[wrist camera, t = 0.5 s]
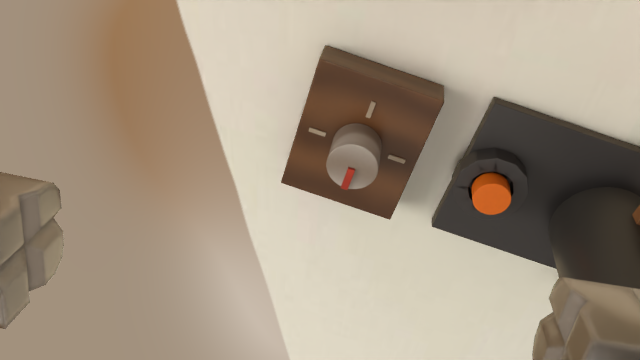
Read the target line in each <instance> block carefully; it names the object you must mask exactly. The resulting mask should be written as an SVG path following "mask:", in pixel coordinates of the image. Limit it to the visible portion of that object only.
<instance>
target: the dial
mask: <svg viewBox="0 0 640 360" xmlns="http://www.w3.org/2000/svg"><path fill="white" fill-rule="evenodd" d="M381 150H382V143H381V139H380V137H379V135H378V134H377V133H376V132H375V131H374V130H373V129H372V128H370V127H369V126H366V125H364V124H358V123H354V124H348V125H346V126H343V127H342V128H340V129H339V130H338V131H337V132H336V134H335V136H334V138H333V142H332V145H331V148H330V152H329V155H328V158H327V162H326V167H327V172H328V174H329V176H330V177H331V179H332V180H333V181H334V182H335V183H337V184H338V185H340V186H341V188H342V189H345V190H348V188H349V189H360V188H363V187H366V186H368V185H369V184H371V183H372V182H373V181H374V180H375V178H376V176H377V174H378V169H379V162H380V156H381Z"/></svg>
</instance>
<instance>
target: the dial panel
mask: <svg viewBox="0 0 640 360" xmlns="http://www.w3.org/2000/svg"><path fill="white" fill-rule="evenodd" d="M443 103H444V86H442V85H439V84H436V83H434V82H431V81H428V80H425V79H422V78H419V77H416V76H413V75H410V74H407V73H405V72H402V71H399V70H396V69H393V68H390V67H387V66H384V65H381V64H378V63H376V62H373V61H370V60H367V59H364V58H361V57H358V56H355V55H352V54H349V53H347V52H344V51H341V50H338V49H335V48H332V47H329V46H325V48H324V50H323V52H322V54H321V57H320V59H319V62H318V65H317V68H316V72H315V75H314V78H313V81H312V84H311V88H310V91H309V94H308V97H307V100H306V104H305V107H304V110H303V113H302V117H301V120H300V123H299V126H298V129H297V133H296V136H295V139H294V142H293V145H292V149H291V152H290V155H289V158H288V162H287V165H286V168H285V171H284V174H283V178H282V181H281V183H284V184H286V185H289V186H292V187H295V188H298V189H301V190H304V191H307V192H310V193H313V194H316V195H319V196H322V197H325V198H328V199H331V200H334V201H337V202H340V203H343V204H345V205H348V206H351V207H354V208H357V209H360V210H363V211H366V212H369V213H372V214H375V215H378V216H381V217H384V218H387V219H391V216H392V214H393V212H394V210H395V208H396V206H397V203H398V201H399V199H400V197H401V195H402V192H403V190H404V188H405V186H406V184H407V182H408V179H409V177H410V175H411V173H412V171H413V168H414V166H415V164H416V162H417V160H418V158H419V155H420V153H421V151H422V149H423V147H424V144H425V142H426V140H427V138H428V136H429V134H430V131H431V129H432V127H433V125H434V123H435V120H436V118H437V116H438V114H439V112H440V110H441V107H442V105H443ZM354 123H358V124H364V125H366V126H369V127H370V128H372V129H373V130H374V131H375V132H376V133H377V134H378V135H379V137H380V139H381V143H382V150H381V156H380V162H379V169H378V174H377V176H376V178H375V180H374V181H373V182H372V183H371V184H369V185H368V186H366V187H363V188H360V189H349V188H348V190H345V189H342V188H341V186H340V185H338V184H337V183H335V182H334V181H333V180H332V179H331V177H330V176H329V174H328V172H327V167H326V162H327V158H328V155H329V152H330V148H331V145H332V142H333V138H334V136H335V134H336V132H337V131H338V130H339V129H340V128H342V127H343V126H346V125H348V124H354Z"/></svg>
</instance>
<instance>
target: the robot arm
mask: <svg viewBox="0 0 640 360" xmlns="http://www.w3.org/2000/svg"><path fill="white" fill-rule="evenodd" d="M60 209H61V199H60V190H59V189H58V188H57V187H56V185H55V184H54V183H51V182H46V181H42V180H36V179H31V178H27V177H22V176H17V175H11V174H7V173H2V172H0V328H3V329H6V328H7V326H8V325H9V324H10V323H11V322H12V321H13V320H14V319H15V318H16V316H18V314H19V313H20V312H21V311H22V310H23V309H24V308H25V307H26V306H27V305H28V303H29V302H30V298H29V291H31V290H34V289H36V288H39V287H41V286H44V285H46V283H47V282H48V281H49V280H50V279H51V278H52V276H53V275H54V274H55V272H56V270H57V268H58V265H59V263H60V261H61V258H62V252H63V246H64V241H63V240H64V239H63V230H62V229H61V228H60V226H59V225H58V223H57V222H56V221H55V219H54V218H53V217H54V216H55V215H56V214H57V213H58V211H59V210H60ZM549 300H550V303H551V306H552V309H553V313H551V314H550V315H548V316H547V317H545V318H544V319H542V320H541V321H540V323H539V326H538V329H537V332H536V335H535V338H534V346H533V354H532V355H533V360H640V289H636V288H629V287H623V286H616V285H610V284H604V283H597V282H591V281H585V280H578V279H572V278H565V277H559V279H558V280H557V282H556V283H555V284H554V286H553V289H552V292H551V294H550V297H549Z"/></svg>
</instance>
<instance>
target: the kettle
mask: <svg viewBox="0 0 640 360" xmlns="http://www.w3.org/2000/svg"><path fill="white" fill-rule="evenodd" d="M548 234H549V240H550V244H551V248H552V252H553V256H554V260H555V263H556V267H557V271H558V275H559V277H565V278H572V279H578V280H585V281H591V282H597V283H604V284H610V285H616V286H623V287H629V288H636V289H640V197H639V196H638V195H636V194H634V193H632V192H630V191H628V190H624V189H621V188H614V187H599V188H592V189H589V190H585V191H582V192H580V193H577V194H575V195H573V196H572V197H570V198H568V199H567V200H566V201H564V202H563V203H562V204H561V205H560V206H559V207H558V208H557V209H556V211H555V212H554V214H553V216H552V217H551V220H550V223H549V228H548Z"/></svg>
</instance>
